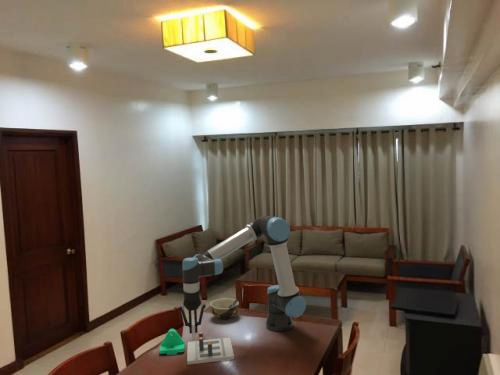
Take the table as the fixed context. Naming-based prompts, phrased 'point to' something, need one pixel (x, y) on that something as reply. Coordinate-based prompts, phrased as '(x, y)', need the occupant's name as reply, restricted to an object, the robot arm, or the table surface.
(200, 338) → the breaker
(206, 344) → the panel
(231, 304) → the bowl
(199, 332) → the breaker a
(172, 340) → the camera mount
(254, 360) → the table surface
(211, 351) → the breaker
